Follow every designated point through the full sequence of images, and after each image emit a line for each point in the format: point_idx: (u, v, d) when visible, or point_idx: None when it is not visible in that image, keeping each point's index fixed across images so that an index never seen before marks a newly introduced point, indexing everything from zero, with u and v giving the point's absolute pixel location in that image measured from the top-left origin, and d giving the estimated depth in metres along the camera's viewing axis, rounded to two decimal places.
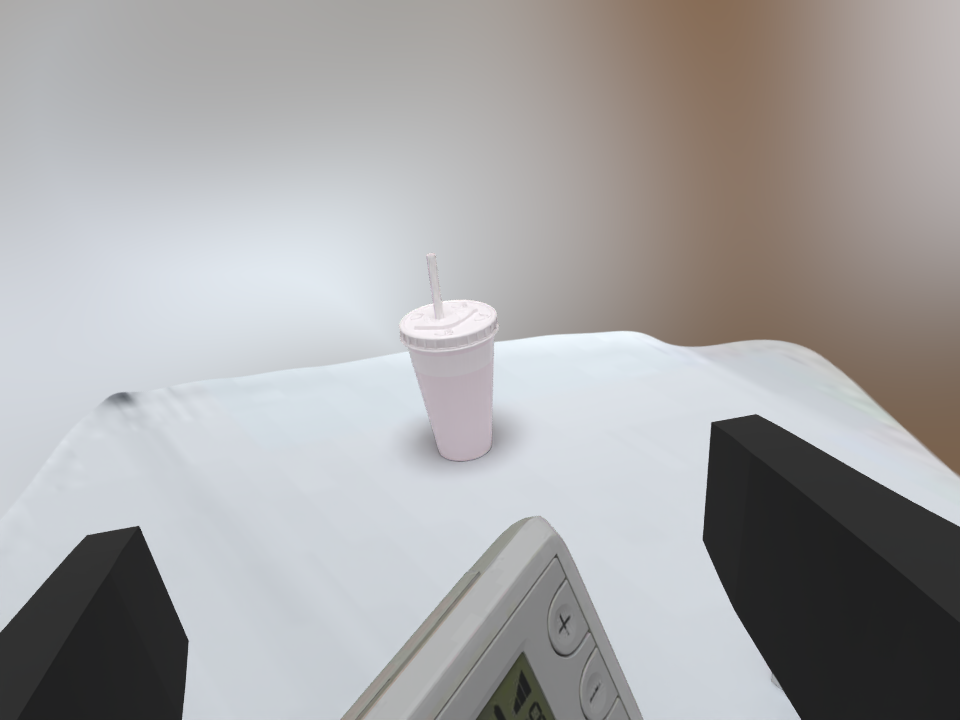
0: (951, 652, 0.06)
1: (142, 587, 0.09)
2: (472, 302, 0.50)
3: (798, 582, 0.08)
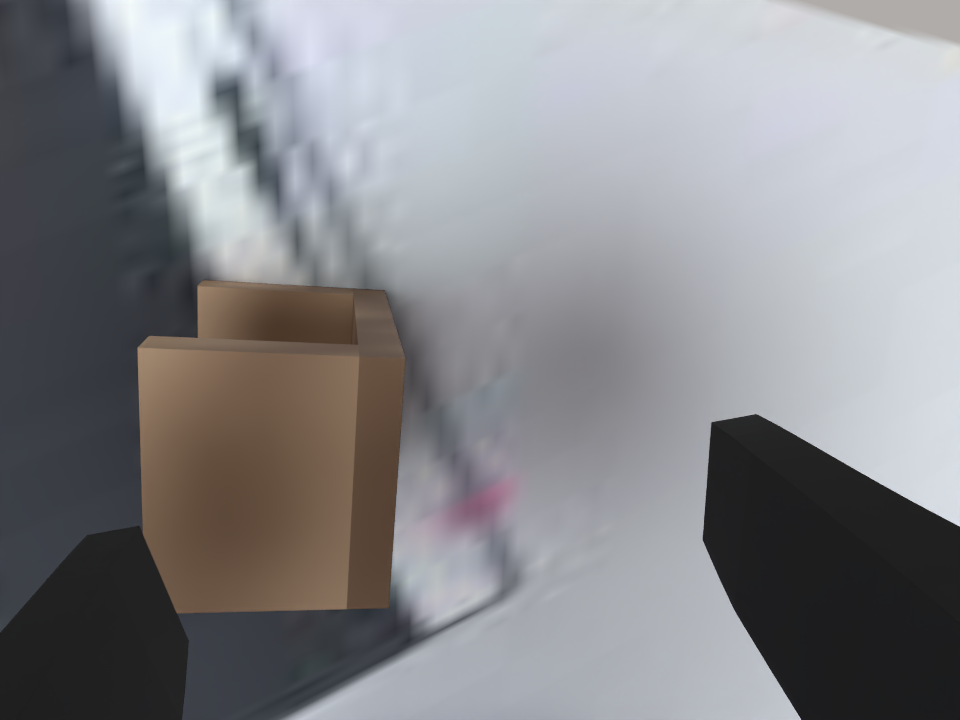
0: (951, 652, 0.06)
1: (142, 587, 0.09)
2: None
3: (798, 582, 0.08)
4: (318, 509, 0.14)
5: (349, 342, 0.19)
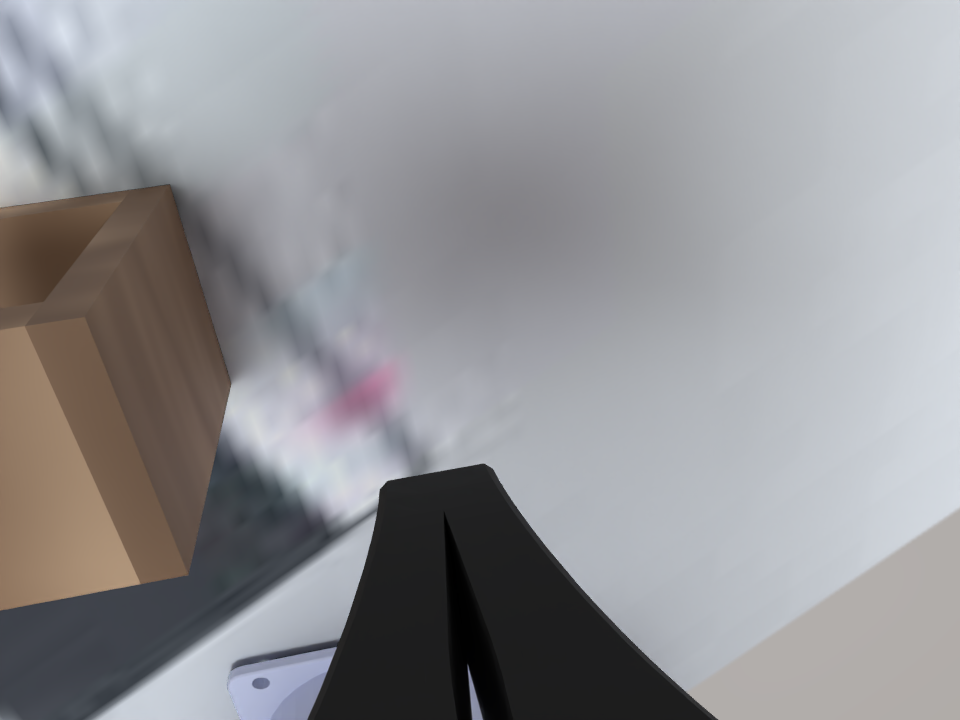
0: None
1: None
2: None
3: (476, 648, 0.08)
4: (58, 496, 0.12)
5: None
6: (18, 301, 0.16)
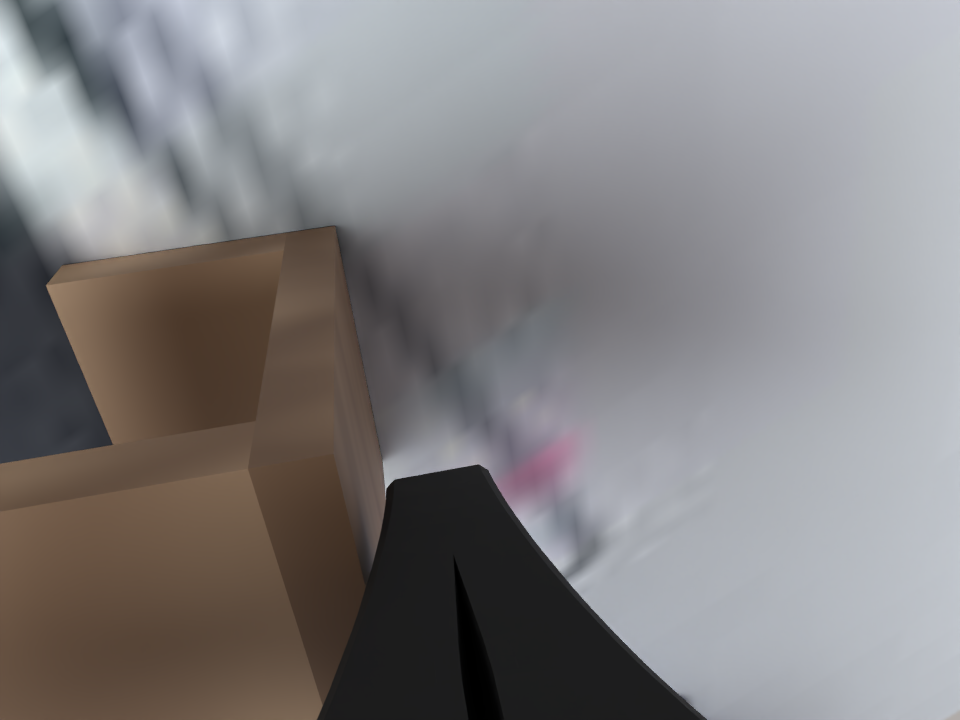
0: None
1: None
2: None
3: (470, 649, 0.08)
4: (258, 682, 0.09)
5: None
6: (144, 373, 0.13)
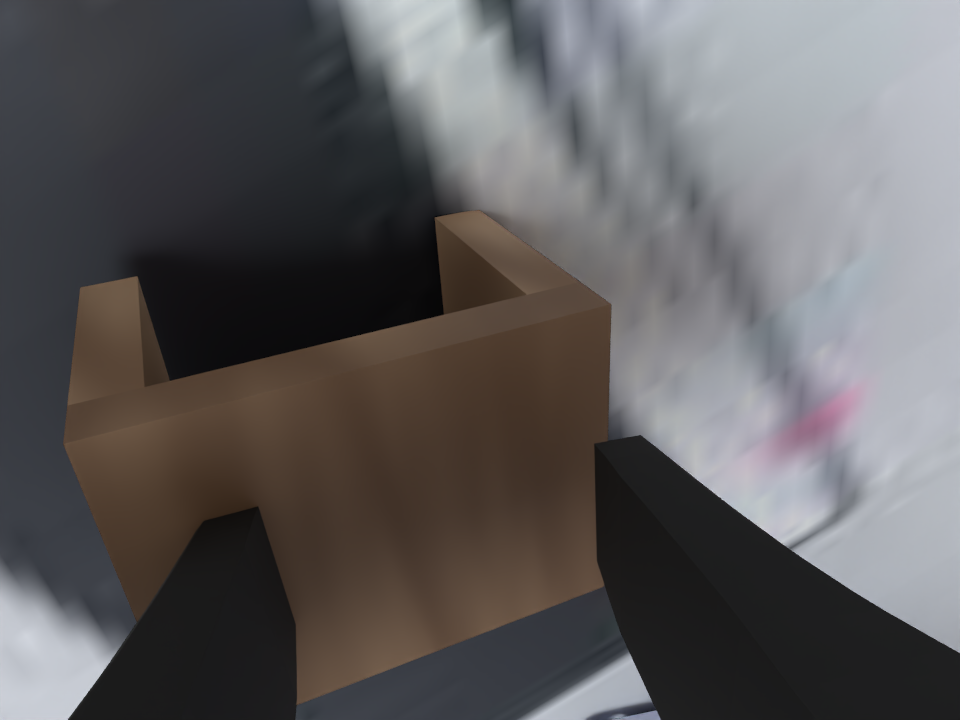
0: (770, 692, 0.06)
1: (265, 564, 0.09)
2: None
3: (662, 610, 0.08)
4: None
5: None
6: None
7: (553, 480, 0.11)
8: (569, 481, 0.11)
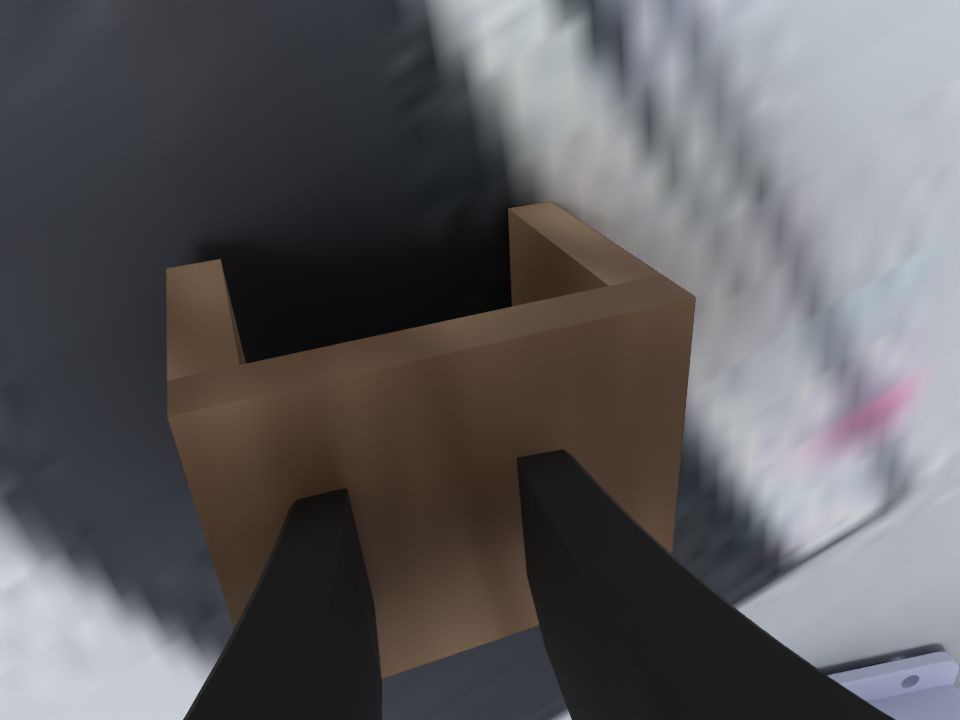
0: (647, 719, 0.06)
1: (355, 547, 0.09)
2: None
3: (571, 629, 0.08)
4: None
5: None
6: None
7: (627, 472, 0.11)
8: (643, 473, 0.11)
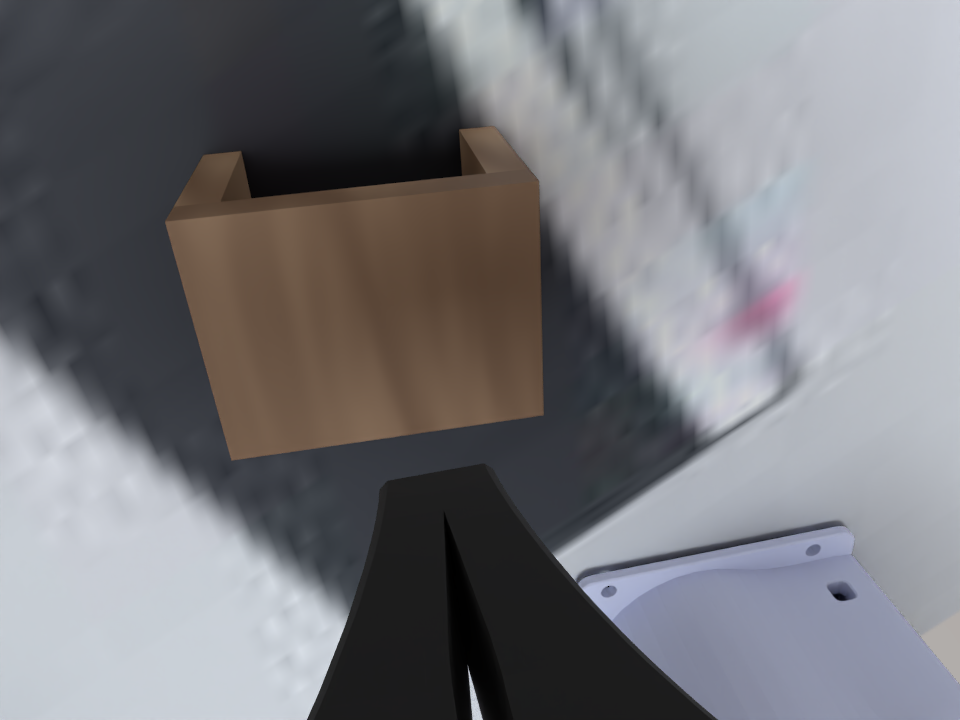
0: None
1: None
2: None
3: (476, 648, 0.08)
4: None
5: None
6: None
7: (497, 314, 0.15)
8: (510, 318, 0.15)
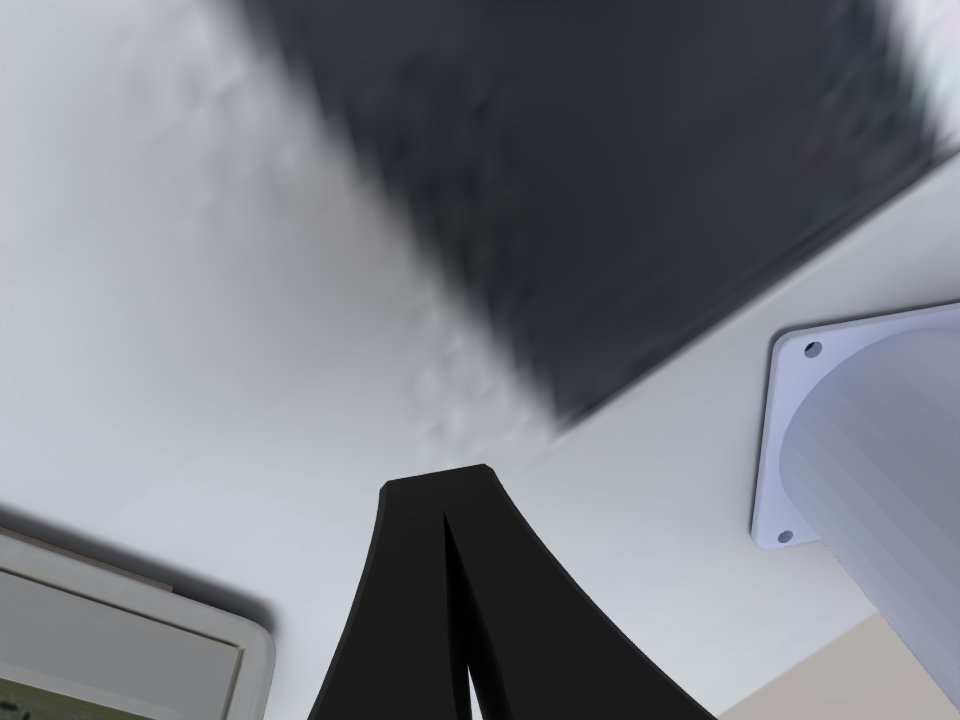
0: None
1: None
2: None
3: (476, 648, 0.08)
4: None
5: None
6: None
7: None
8: None
